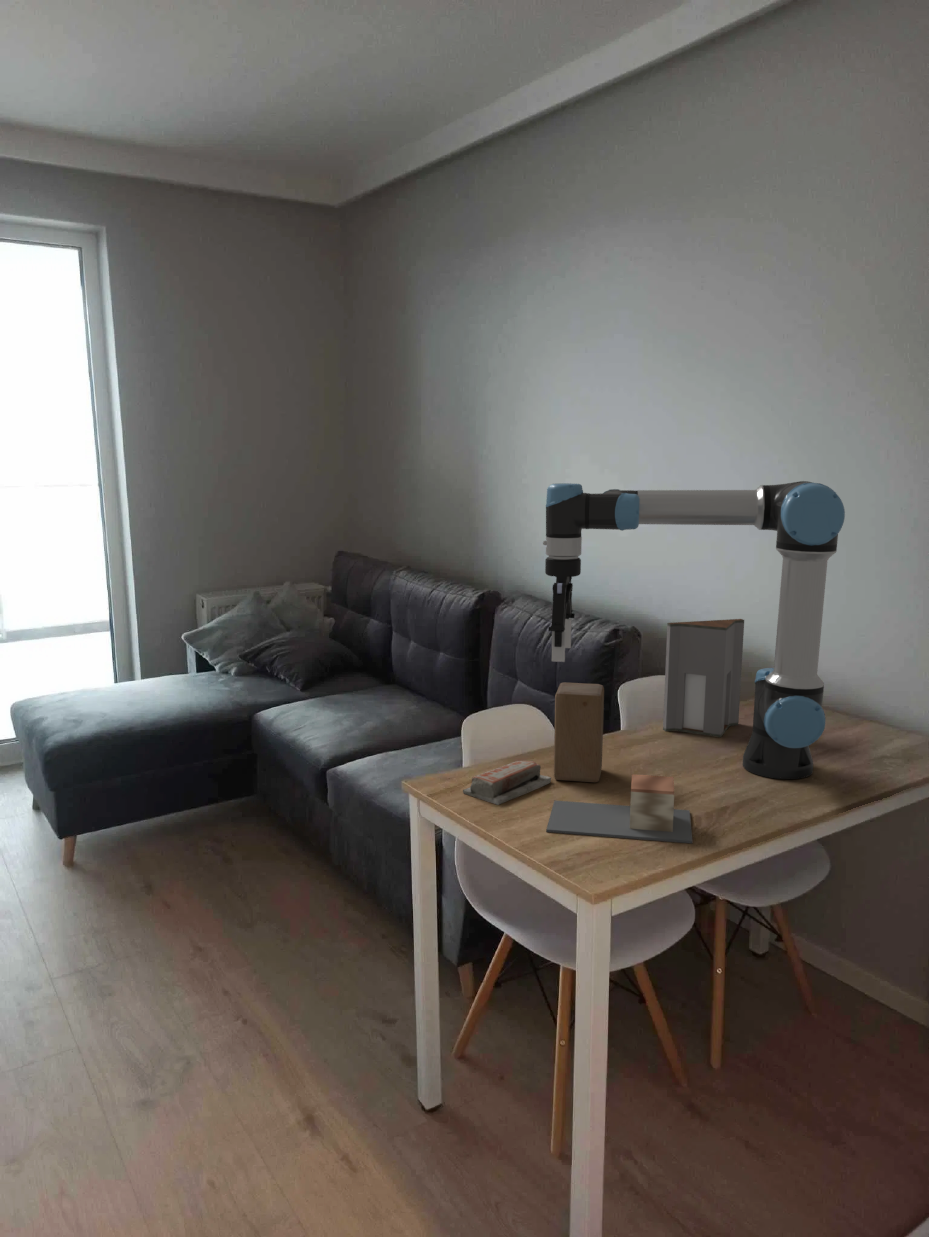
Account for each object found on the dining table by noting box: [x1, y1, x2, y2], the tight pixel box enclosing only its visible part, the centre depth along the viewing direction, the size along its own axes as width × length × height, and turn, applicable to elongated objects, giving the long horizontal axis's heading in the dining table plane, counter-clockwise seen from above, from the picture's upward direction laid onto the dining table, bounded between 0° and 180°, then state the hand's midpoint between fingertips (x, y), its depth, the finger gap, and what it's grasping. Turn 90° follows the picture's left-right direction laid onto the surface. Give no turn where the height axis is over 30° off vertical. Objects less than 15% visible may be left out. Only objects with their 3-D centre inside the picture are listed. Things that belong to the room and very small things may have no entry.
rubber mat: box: [545, 800, 693, 844], centre depth 184 cm, size 27×15×1 cm, turn 79°
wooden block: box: [553, 681, 605, 783], centre depth 208 cm, size 10×10×20 cm
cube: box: [629, 773, 675, 832], centre depth 182 cm, size 8×8×8 cm
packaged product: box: [462, 760, 552, 806], centre depth 202 cm, size 18×5×10 cm
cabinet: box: [662, 618, 745, 738], centre depth 238 cm, size 21×10×28 cm, turn 106°
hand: (561, 654), depth 204 cm, fingers open, 13 cm apart
